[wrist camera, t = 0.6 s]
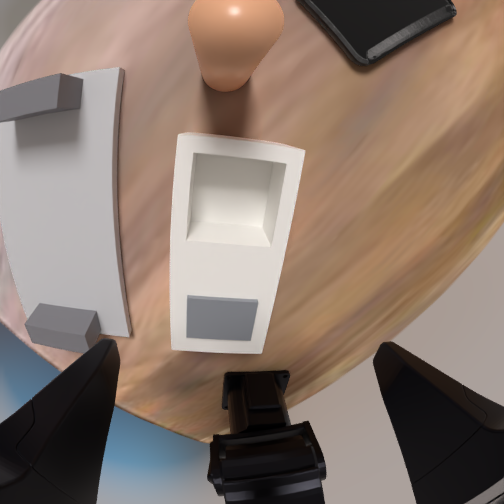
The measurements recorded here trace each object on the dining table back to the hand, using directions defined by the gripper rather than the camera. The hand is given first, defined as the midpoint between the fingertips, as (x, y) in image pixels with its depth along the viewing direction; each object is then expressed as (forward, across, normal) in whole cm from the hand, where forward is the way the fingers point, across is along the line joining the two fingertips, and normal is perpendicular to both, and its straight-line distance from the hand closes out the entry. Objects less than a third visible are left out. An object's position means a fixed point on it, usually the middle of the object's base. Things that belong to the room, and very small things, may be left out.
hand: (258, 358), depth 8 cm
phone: (+12, -9, -21) cm, 26 cm away
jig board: (+12, +14, 0) cm, 18 cm away
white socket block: (+12, +1, 0) cm, 12 cm away
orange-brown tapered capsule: (+12, +2, -10) cm, 16 cm away
